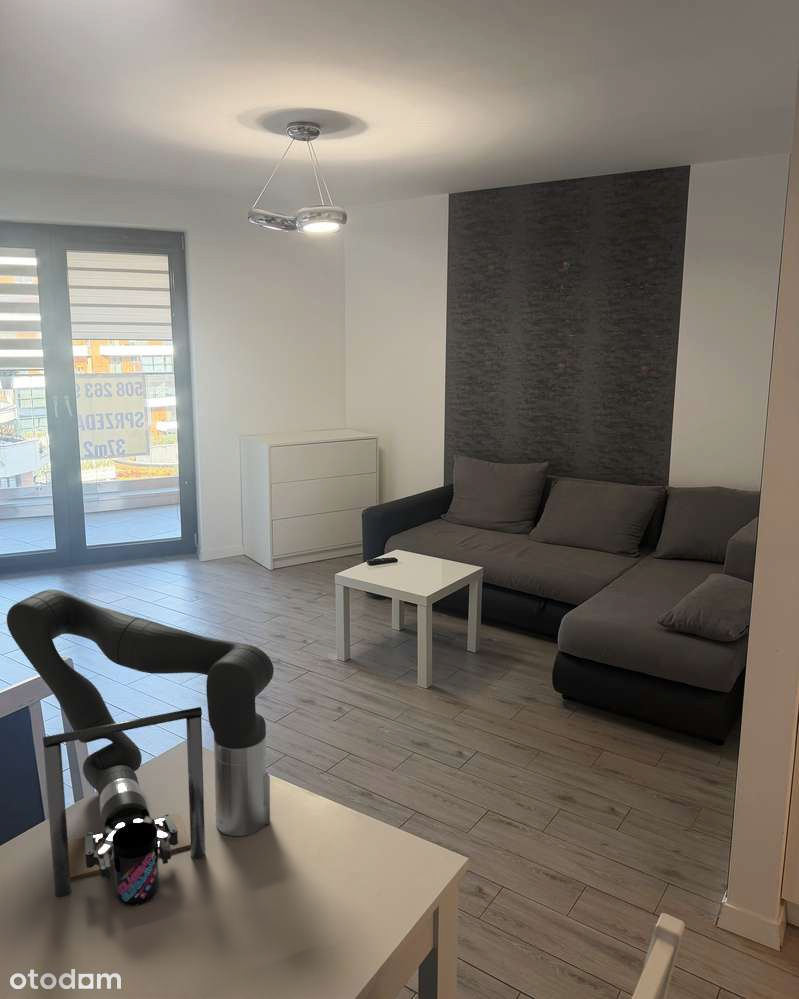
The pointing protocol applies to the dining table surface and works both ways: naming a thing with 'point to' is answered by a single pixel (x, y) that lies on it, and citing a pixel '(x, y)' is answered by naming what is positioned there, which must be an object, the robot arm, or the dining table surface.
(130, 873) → the supplement container
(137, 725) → the frame
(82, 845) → the walnut board
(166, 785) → the dining table surface
